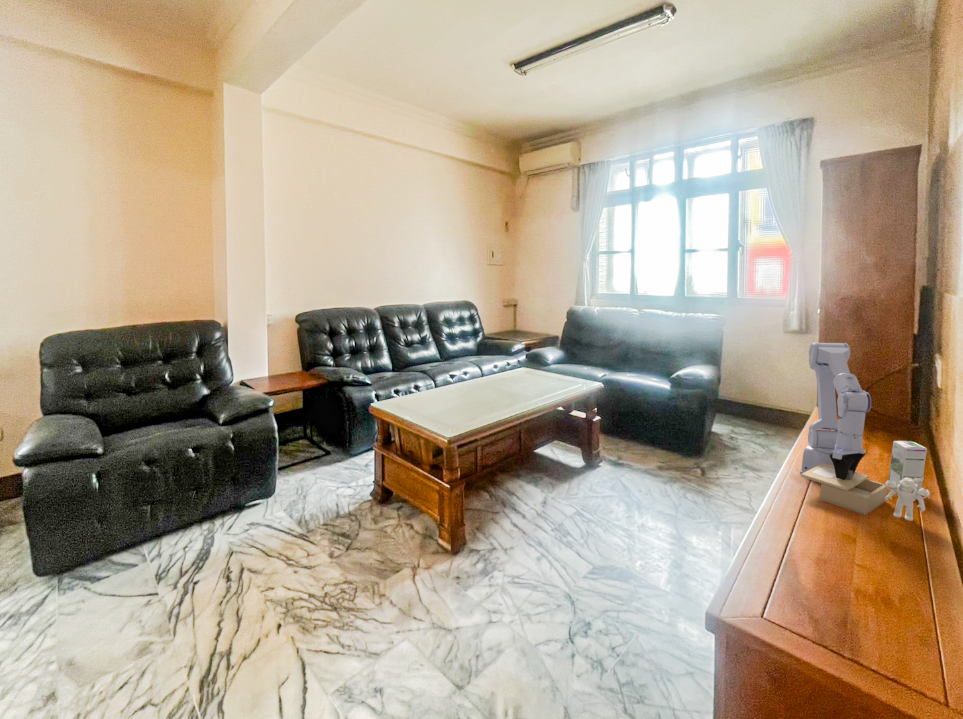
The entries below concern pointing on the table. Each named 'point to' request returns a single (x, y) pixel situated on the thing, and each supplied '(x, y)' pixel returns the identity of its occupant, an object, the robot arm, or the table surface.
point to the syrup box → (907, 462)
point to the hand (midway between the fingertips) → (844, 476)
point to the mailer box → (856, 496)
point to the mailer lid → (834, 477)
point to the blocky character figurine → (907, 496)
